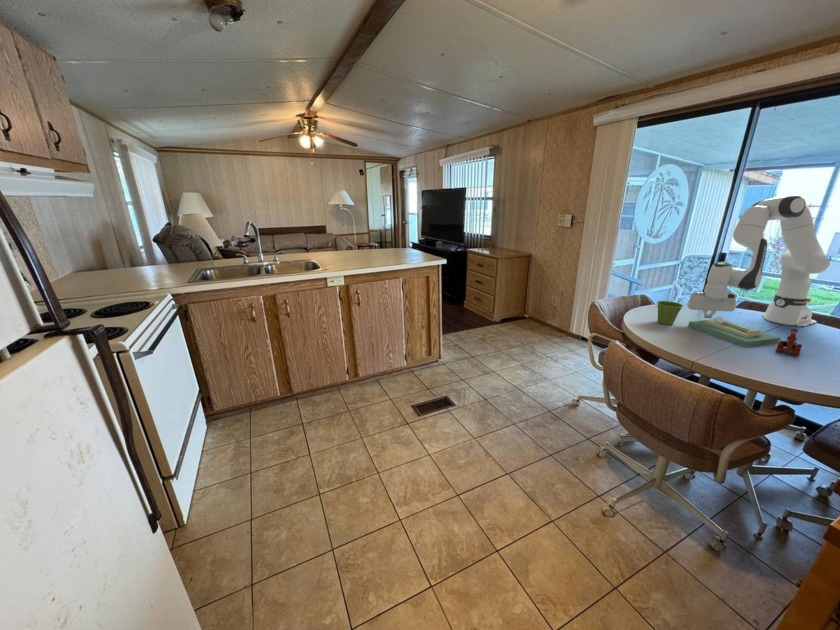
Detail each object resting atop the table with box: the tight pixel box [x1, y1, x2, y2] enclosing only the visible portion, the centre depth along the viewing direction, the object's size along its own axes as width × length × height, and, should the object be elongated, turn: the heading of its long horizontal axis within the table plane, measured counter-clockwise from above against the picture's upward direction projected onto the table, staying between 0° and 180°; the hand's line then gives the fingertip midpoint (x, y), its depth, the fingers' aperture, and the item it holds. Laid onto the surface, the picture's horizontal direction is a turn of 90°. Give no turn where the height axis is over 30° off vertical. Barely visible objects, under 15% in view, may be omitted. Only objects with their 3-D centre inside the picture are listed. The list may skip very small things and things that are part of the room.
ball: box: [713, 316, 725, 325], centre depth 174 cm, size 4×4×4 cm
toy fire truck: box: [775, 328, 803, 357], centre depth 147 cm, size 7×12×10 cm, turn 129°
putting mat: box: [687, 318, 781, 348], centre depth 168 cm, size 28×20×6 cm
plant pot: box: [656, 300, 684, 326], centre depth 183 cm, size 12×12×11 cm
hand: (707, 317), depth 180 cm, fingers closed
